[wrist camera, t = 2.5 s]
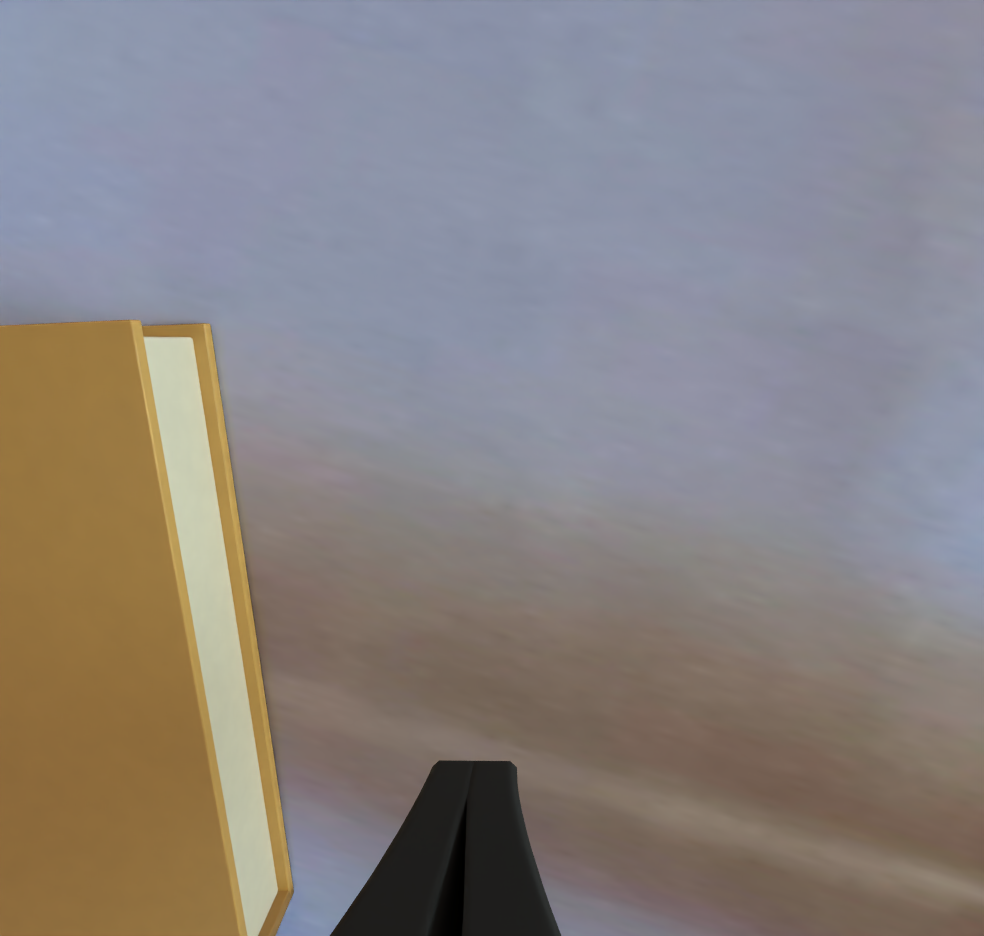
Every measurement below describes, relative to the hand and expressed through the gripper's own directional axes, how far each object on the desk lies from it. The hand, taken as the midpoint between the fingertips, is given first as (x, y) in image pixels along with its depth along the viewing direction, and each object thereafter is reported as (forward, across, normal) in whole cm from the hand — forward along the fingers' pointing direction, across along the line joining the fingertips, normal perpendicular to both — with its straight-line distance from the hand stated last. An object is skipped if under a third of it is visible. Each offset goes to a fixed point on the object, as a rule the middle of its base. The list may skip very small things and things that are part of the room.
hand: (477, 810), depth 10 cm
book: (+6, +12, 0) cm, 14 cm away
